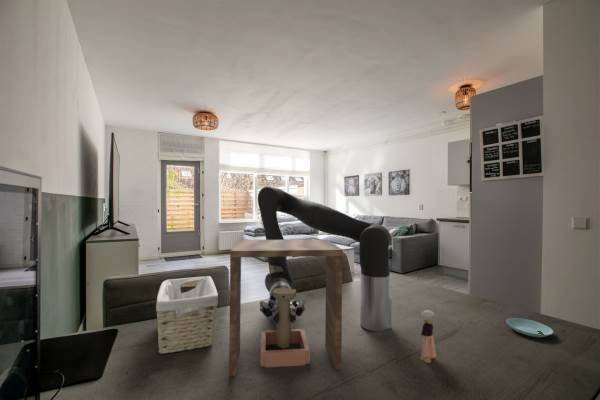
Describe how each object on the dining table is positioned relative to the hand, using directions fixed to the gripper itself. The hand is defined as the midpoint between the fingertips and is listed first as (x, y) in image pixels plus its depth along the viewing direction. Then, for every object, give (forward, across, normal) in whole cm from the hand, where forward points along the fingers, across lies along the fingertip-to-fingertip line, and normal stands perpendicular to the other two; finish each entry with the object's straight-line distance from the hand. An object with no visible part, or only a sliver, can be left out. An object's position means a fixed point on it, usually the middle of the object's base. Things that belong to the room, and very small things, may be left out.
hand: (284, 319), depth 75 cm
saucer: (-8, +79, +10) cm, 80 cm away
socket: (-3, 0, +10) cm, 11 cm away
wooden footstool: (-3, 0, +10) cm, 11 cm away
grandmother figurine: (+3, +38, +10) cm, 40 cm away
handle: (-3, 0, +9) cm, 9 cm away
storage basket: (-17, -29, +11) cm, 35 cm away
